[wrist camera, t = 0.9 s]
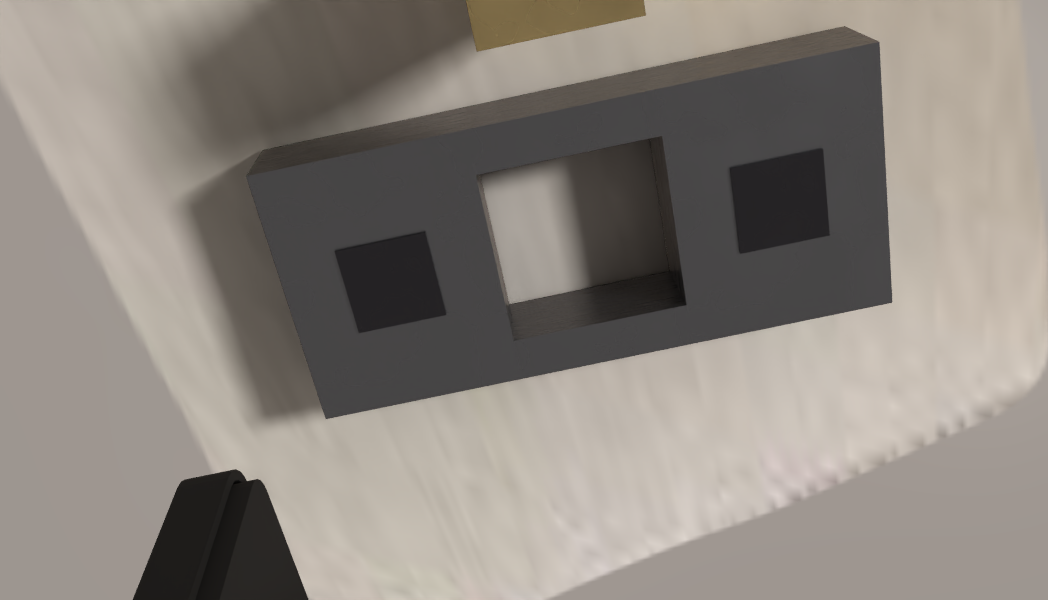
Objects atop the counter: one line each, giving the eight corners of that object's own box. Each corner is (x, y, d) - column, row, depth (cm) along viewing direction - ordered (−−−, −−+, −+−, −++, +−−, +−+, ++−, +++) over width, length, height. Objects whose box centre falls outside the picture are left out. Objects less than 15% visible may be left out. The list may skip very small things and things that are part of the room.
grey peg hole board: (263, 150, 34) (245, 177, 31) (844, 26, 34) (880, 42, 31) (335, 377, 38) (325, 420, 35) (860, 269, 37) (893, 303, 34)
